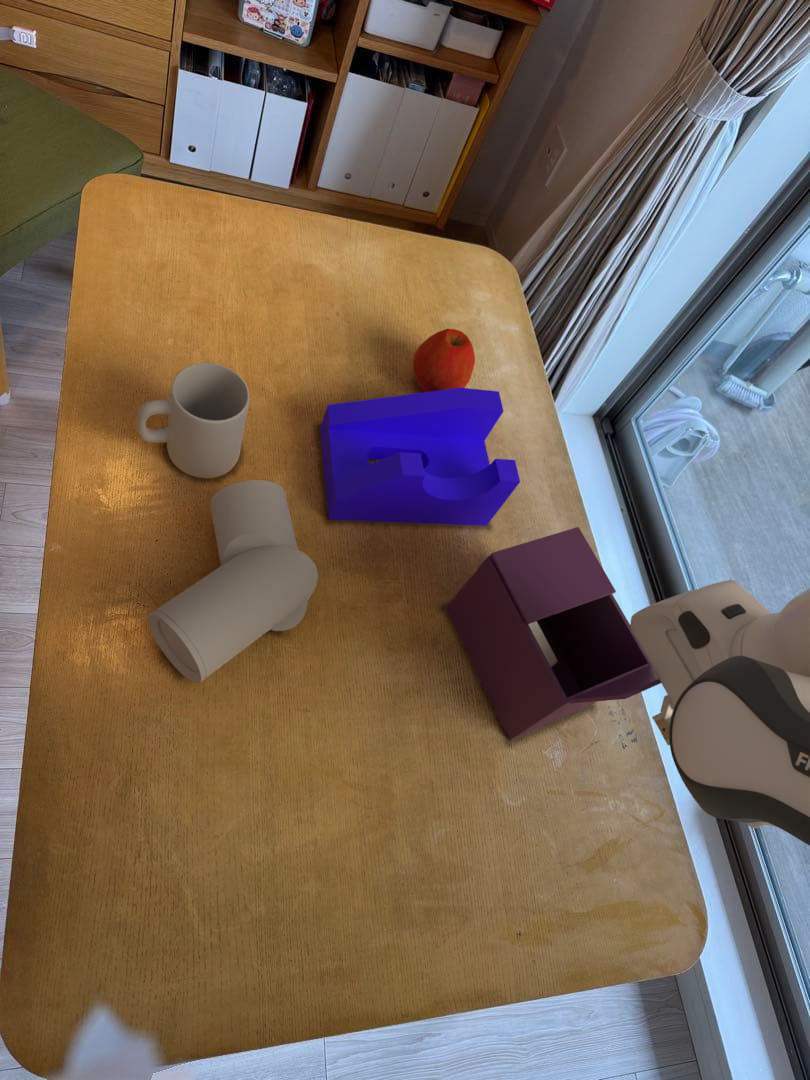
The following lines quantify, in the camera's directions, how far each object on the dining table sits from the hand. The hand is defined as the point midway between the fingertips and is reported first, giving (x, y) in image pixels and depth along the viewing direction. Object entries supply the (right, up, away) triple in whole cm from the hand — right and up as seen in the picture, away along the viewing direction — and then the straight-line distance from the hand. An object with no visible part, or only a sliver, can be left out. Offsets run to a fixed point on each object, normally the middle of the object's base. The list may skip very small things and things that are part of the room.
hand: (664, 728), depth 73 cm
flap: (-2, +5, +1) cm, 5 cm away
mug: (-50, +28, +20) cm, 61 cm away
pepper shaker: (-9, +3, +16) cm, 19 cm away
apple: (-21, +39, +37) cm, 58 cm away
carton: (-11, +4, +19) cm, 23 cm away
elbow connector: (-44, +11, +12) cm, 47 cm away
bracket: (-25, +26, +28) cm, 45 cm away
